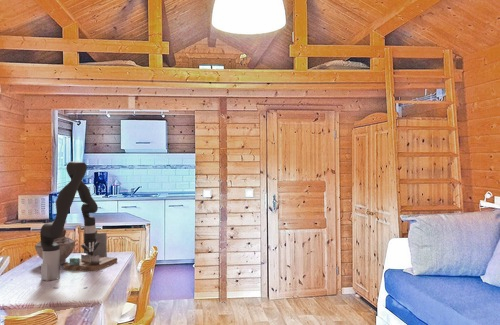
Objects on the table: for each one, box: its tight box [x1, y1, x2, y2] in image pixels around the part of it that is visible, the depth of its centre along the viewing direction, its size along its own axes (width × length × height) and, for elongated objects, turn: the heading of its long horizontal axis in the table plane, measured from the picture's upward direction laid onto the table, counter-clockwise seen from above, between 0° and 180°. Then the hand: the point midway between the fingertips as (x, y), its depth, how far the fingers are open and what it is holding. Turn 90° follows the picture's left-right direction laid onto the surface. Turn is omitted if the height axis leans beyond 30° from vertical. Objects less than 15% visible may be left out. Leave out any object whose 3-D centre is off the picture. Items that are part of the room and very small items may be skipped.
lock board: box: [62, 256, 118, 272], centre depth 269 cm, size 24×25×7 cm
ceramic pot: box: [34, 227, 76, 266], centre depth 276 cm, size 25×25×24 cm
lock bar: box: [80, 253, 99, 265], centre depth 265 cm, size 20×5×5 cm, turn 46°
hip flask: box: [83, 229, 108, 257], centre depth 294 cm, size 16×4×20 cm, turn 105°
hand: (90, 257), depth 273 cm, fingers closed
